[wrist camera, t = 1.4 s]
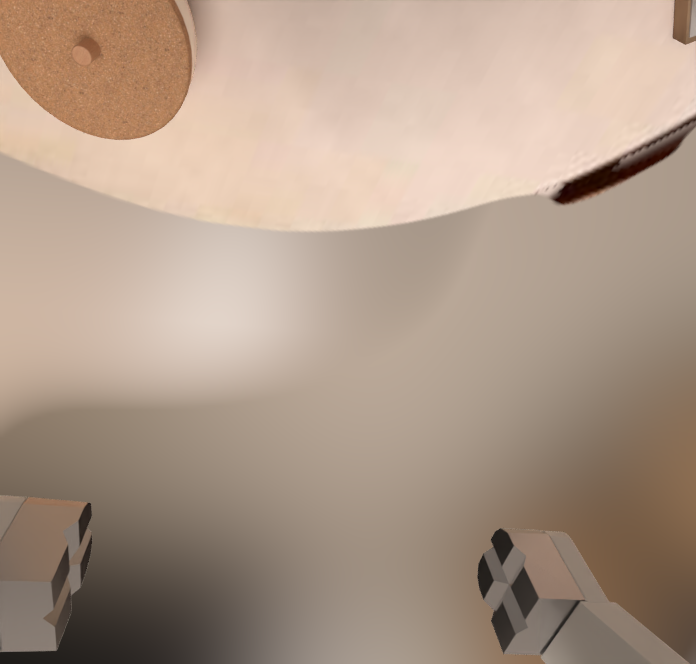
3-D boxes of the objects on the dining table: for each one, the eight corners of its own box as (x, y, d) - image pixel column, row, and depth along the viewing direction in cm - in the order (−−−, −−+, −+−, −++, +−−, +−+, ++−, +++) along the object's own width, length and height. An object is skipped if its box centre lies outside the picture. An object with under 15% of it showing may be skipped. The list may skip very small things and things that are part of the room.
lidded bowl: (21, 26, 40) (-55, 69, 32) (79, -140, 33) (2, -137, 25) (167, 127, 46) (134, 185, 38) (241, 3, 39) (219, 41, 31)
